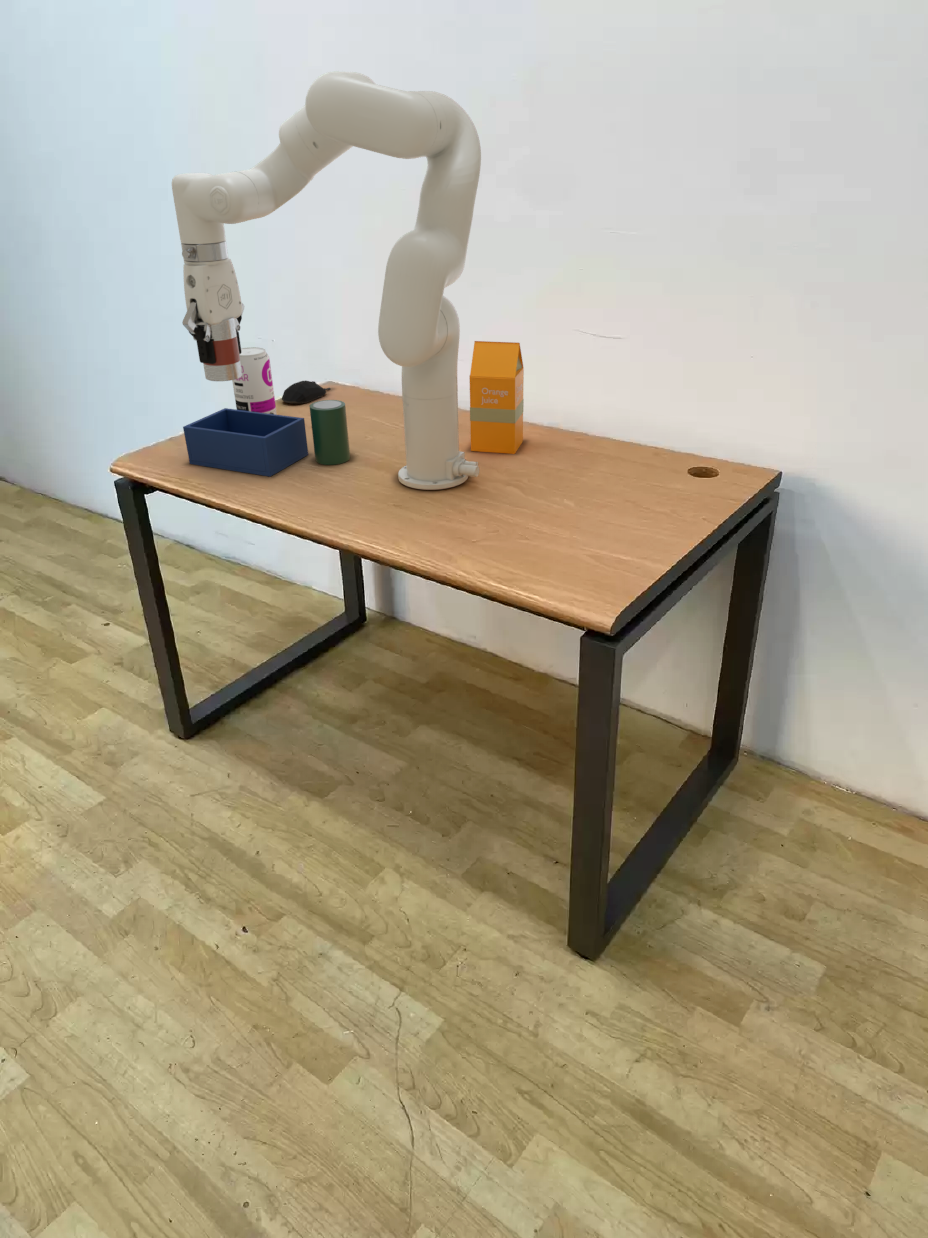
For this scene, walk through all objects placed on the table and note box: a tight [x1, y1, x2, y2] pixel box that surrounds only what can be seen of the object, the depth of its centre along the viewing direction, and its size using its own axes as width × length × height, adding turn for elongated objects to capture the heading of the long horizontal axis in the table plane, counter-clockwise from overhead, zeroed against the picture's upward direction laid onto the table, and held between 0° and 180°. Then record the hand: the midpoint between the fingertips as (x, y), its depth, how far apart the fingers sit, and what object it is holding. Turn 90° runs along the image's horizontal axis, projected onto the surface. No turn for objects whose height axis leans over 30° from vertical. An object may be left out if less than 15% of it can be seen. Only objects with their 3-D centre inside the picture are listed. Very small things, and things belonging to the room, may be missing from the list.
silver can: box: [199, 317, 242, 382], centre depth 163 cm, size 7×7×11 cm
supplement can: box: [231, 346, 278, 415], centre depth 190 cm, size 8×8×15 cm
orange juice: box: [469, 340, 525, 455], centre depth 171 cm, size 8×9×20 cm
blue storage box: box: [182, 407, 309, 478], centre depth 171 cm, size 19×13×7 cm
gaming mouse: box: [281, 380, 331, 405], centre depth 208 cm, size 6×15×4 cm, turn 146°
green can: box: [309, 399, 351, 466], centre depth 169 cm, size 7×7×11 cm
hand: (221, 357), depth 164 cm, fingers closed on silver can, 6 cm apart
